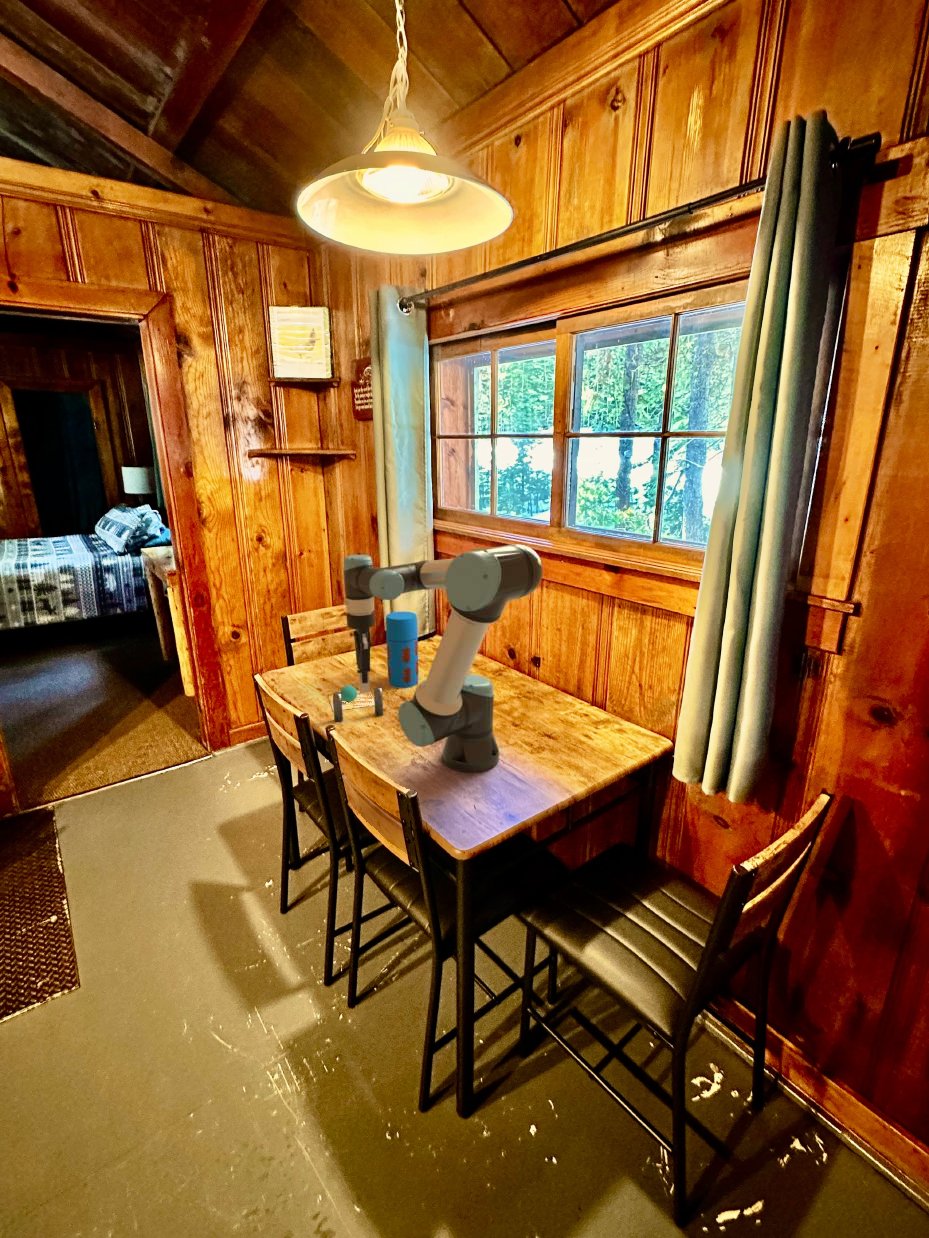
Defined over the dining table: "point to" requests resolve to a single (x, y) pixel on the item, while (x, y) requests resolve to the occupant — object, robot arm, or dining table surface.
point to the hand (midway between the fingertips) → (364, 692)
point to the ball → (348, 693)
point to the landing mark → (356, 702)
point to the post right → (378, 701)
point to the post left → (337, 707)
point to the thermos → (402, 649)
